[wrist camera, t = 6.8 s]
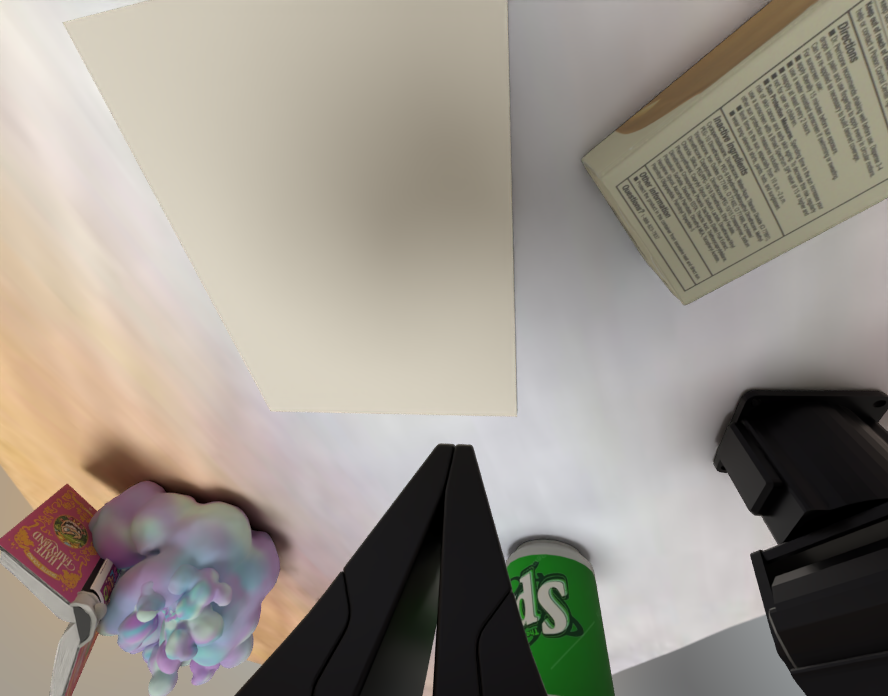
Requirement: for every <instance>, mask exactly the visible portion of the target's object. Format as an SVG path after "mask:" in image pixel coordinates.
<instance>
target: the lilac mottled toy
mask: <svg viewBox="0 0 888 696" xmlns="http://www.w3.org/2000/svg"><path fill="white" fill-rule="evenodd" d="M0 550H1V551H2V552H1V558H0V563H1V564H2V565H3V566H4V567H5V568H6V569H8V570H9V571H10V572H11V573H12V574H13V575H14V576H16V577H17V578H18V579H19V580H20V581H21V582H22V583H23V584H24V585H25V586H26V587H27V588H28V589H29V590H30V591H31V592H32V593H33V594H34V595H35V596H36V597H37V598H38V599H39V600H40V601H41V602H42V603H43V604H44V605H45V606H47V607H48V608H49V609H50V610H51V611H52V612H53V613H54V614H55V615H56V616H57V617H58V618H59V619H61V620H64V621H67V622H70V624H69V625H68V627H67V629H66V630H65V632H64V634H63V636H62V638H61V639H60V642H59V645H58V648H57V652H56V657H55V663H54V668H53V674H52V682H51V688H50V695H49V696H72V693H73V691H74V689H75V686H76V684H77V682H78V679H79V677H80V675H81V673H82V670H83V668H84V666H85V663H86V661H87V659H88V657H89V654H90V652H91V650H92V647H93V645H94V643H95V640H96V638H97V636H98V634H101V635H104V636H113V635H117V634H118V642H117V643H118V645H119V646H120V647H121V648H122V649H123V650H124V651H125V652H129V653H130V654H136V653H138V652H141V651H143V652H142V656H143V659H144V661H145V662H146V663H148V668H149V670H150V672H151V673H152V679H151V680H150V683H149V694H150V696H166V695H167V694H169V693H170V691H172V690H173V688H174V687H175V685H176V683H177V679H178V673H177V672H178V669H179V667H180V666H187V665H189V664H190V669H191V671H192V672H193V678H192V684H193V685H201V684H203V683H206V682H208V681H209V680H210V679H211V677H212V676H213V675H214V673H215V671H216V670H217V669H218V668H219V666H220V664H221V665H222V666H223V667H225V668H232V667H235V666H237V665H239V664H241V663H242V662H244V661H245V660H246V659H247V658H248V657H249V656H250V654H251V651H252V648H253V634H252V633H253V632H254V630H255V629H256V627H257V625H258V622H259V618H260V613H261V603H262V601H263V599H264V598H265V596H266V595H267V594H268V593H269V591H270V590H271V589H272V588H273V587H274V585H275V583H276V581H277V578H278V575H279V571H280V562H279V557H278V554H277V551H276V548H275V545H274V543H273V541H272V539H271V537H270V536H269V535H268V534H267V533H266V532H262V531H254V530H251V527H250V523H249V520H248V518H247V516H246V515H245V513H244V512H243V511H242V510H241V509H240V508H239V507H237V506H234V505H231V504H228V503H224V502H221V501H215V502H210V503H206V504H200V503H197V502H196V501H195V499H194V498H193V497H191V496H188V495H182V494H178V493H166V492H165V490H164V489H163V488H162V487H161V486H159V485H158V484H156V483H154V482H151V481H143V482H140V483H138V484H135V485H134V486H132V487H130V488H128V489H127V490H125V491H124V492H123V493H122V494H120V495H119V496H117V497H115V498H113V499H112V500H111V501H110V502H108V503H106V504H105V505H104V506H103V507H102V508H101V509H99V510H98V511H96V510H95V509H94V508H93V507H92V506H91V505H90V504H89V503H88V502H87V501H86V500H85V499H83V498H82V497H81V496H80V495H79V494H78V493H77V492H76V491H75V490H74V489H73V488H72V487H71V486H70V485H68V484H66V485H65V486H64V487H62V488H61V489H60V490H59V491H57V492H56V493H55V494H54V495H53V496H51V497H50V498H49V499H48V500H46V501H45V502H44V503H43V504H42V505H40V506H39V507H38V508H37V509H36V510H34V511H33V512H32V513H31V514H29V515H28V516H27V517H26V518H25V519H23V520H22V521H21V522H20V523H18V524H17V525H16V526H15V527H14V528H12V529H11V530H10V531H9V532H8V533H6V534H5V535H4V536H3V537H1V538H0ZM109 601H110V602H109Z"/></svg>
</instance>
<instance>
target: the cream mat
mask: <svg viewBox="0 0 888 696" xmlns="http://www.w3.org/2000/svg"><path fill="white" fill-rule="evenodd" d="M63 24H64V26H65V28H66V30H67V32H68V34H69V35H70V37H71V39H72V41H73V43H74V45H75V47H76V49H77V50H78V52H79V54H80V56H81V58H82V60H83V62H84V63H85V65H86V67H87V69H88V71H89V73H90V75H91V77H92V78H93V80H94V82H95V84H96V86H97V88H98V90H99V92H100V93H101V95H102V97H103V99H104V101H105V103H106V105H107V106H108V108H109V110H110V112H111V114H112V116H113V118H114V120H115V121H116V123H117V125H118V127H119V129H120V131H121V133H122V134H123V136H124V138H125V140H126V142H127V144H128V146H129V148H130V149H131V151H132V153H133V155H134V157H135V159H136V161H137V163H138V164H139V166H140V168H141V170H142V172H143V174H144V176H145V177H146V179H147V181H148V183H149V185H150V187H151V189H152V191H153V192H154V194H155V196H156V198H157V200H158V202H159V204H160V206H161V207H162V209H163V211H164V213H165V215H166V217H167V219H168V220H169V222H170V224H171V226H172V228H173V230H174V232H175V234H176V235H177V237H178V239H179V241H180V243H181V245H182V247H183V248H184V250H185V252H186V254H187V256H188V258H189V260H190V262H191V263H192V265H193V267H194V269H195V271H196V273H197V275H198V277H199V278H200V280H201V282H202V284H203V286H204V288H205V290H206V291H207V293H208V295H209V297H210V299H211V301H212V303H213V305H214V306H215V308H216V310H217V312H218V314H219V316H220V318H221V320H222V321H223V323H224V325H225V327H226V329H227V331H228V333H229V334H230V336H231V338H232V340H233V342H234V344H235V346H236V348H237V349H238V351H239V353H240V355H241V357H242V359H243V361H244V362H245V364H246V366H247V368H248V370H249V372H250V374H251V376H252V377H253V379H254V381H255V383H256V385H257V387H258V389H259V391H260V392H261V394H262V396H263V398H264V400H265V402H266V404H267V405H268V407H269V409H270V411H276V412H324V413H371V414H419V415H466V416H513V417H517V400H516V357H515V313H514V269H513V225H512V182H511V138H510V94H509V50H508V7H507V0H149V1H145V2H141V3H137V4H133V5H129V6H125V7H121V8H117V9H114V10H110V11H106V12H102V13H98V14H94V15H90V16H86V17H82V18H78V19H74V20H70V21H67V22H63Z"/></svg>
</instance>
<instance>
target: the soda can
mask: <svg viewBox="0 0 888 696" xmlns="http://www.w3.org/2000/svg"><path fill="white" fill-rule="evenodd" d="M506 567H507V571H508V574H509V578H510V581H511V585H512V590H513V593H514V595H515V599H516V602H517V606H518V610H519V613H520V617H521V620H522V623H523V626H524V630H525V633H526V636H527V639H528V643H529V646H530V649H531V652H532V654H533V657H534V660H535V663H536V665H537V668H538V671H539V673H540V676H541V679H542V681H543V684H544V687H545V689H546V692H547V694H548V696H615V694H614V688H613V682H612V676H611V670H610V664H609V658H608V652H607V646H606V640H605V634H604V628H603V622H602V616H601V610H600V604H599V598H598V592H597V586H596V580H595V574H594V570H593V568H592V565H591V563H590V562H589V561H587V560H586V559H585V558H584V557H583V556H582V555H581V554H580V552H578V551H577V550H576V549H575V548H574V547H572V546H570V545H568V544H566V543H562V542H559V541H554V540H533V541H529V542H525V543H524V544H522V545H520V546H519V547H518V548H517V550H516V551H515V552H514V553H512V554H511V555H510V557H509V558H508V560H507V562H506Z"/></svg>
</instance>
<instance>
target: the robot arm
mask: <svg viewBox="0 0 888 696" xmlns="http://www.w3.org/2000/svg"><path fill="white" fill-rule="evenodd" d="M754 399H755V400H754ZM752 400H753V401H752ZM887 410H888V395H887V394H885V393H884V392H880V391H758V390H755V391H750V392H747V393H745V394H744V395H743V396H742V398H741V400H740V402H739V405H738V407H737V409H736V412H735V414H734V416H733V419H732V421H731V423H730V425H729V426H728V428H727V430H726V432H725V435H724V437H723V439H722V441H721V444H720V446H719V448H718V451H717V456H716V458H715V460H714V466H715V468H716V469H717V471H719V472H722V473H728V474H729V476H730V478H731V480H732V481H733V483H734V485H735V487H736V488H737V490H738V492H739V494H740V496H741V497H742V499H743V501H744V503H745V504H746V506H747V508H748V510H749V511H750V512H751V513H752V514H753V515H755V516H761V517H762V518H763V520H764V522H765V523H766V525H767V527H768V529H769V530H770V532H771V534H772V535H773V537H774V539H775V541H776V542H777V544H778V545H777V546H774V547H772V548H769V549H767V550H764V551H763V550H758V551H756V552H753V553H751V554H750V556H751V560H752V564H753V567H754V571H755V575H756V579H757V582H758V586H759V590H760V593H761V597H762V601H763V605H764V608H765V612H766V616H767V619H768V623H769V627H770V630H771V634H772V636H773V639H774V642H775V646H776V650H777V653H778V654H779V656H780V658H781V659H782V660H783V661H784V663H785V664H786V666H787V667H788V669H789V671H790V673H791V675H792V677H793V679H794V680H795V681H796V683H797V684H798V685H799V687H800V688H801V689H802V690H803V692H804V693H805V694H806V695H807V696H888V432H887V431H886V430H885V429H884V428H883V427H882V426H881V425H880V424H879V423H878V422H879V420H880V419H881V418H882V416H883V415H884V414H885V412H886V411H887ZM343 570H344V572H343V571H342V572H340V573H339V574H338V576H337V577H336V578H335V580H334V581H333V582H332V584H331V585H330V586H329V588H328V589H327V590H326V592H325V593H324V594H323V595H322V597H321V598H320V599H319V600H318V602H317V603H316V604H315V605H314V607H313V608H312V609H311V610H310V612H309V613H308V614H307V615H306V616H305V618H304V619H303V620H302V621H301V622H300V623H299V624H298V626H297V627H296V628H295V629H294V630H293V631H292V632H291V634H290V635H289V636H288V637H287V638H286V639H285V640H284V642H283V643H282V644H281V645H280V646H279V647H278V648H277V649H276V650H275V651H274V653H273V654H272V655H271V656H270V657H269V658H268V659H267V660H266V661H265V662H264V664H263V665H262V666H261V667H260V668H259V669H258V670H257V671H256V672H255V674H254V675H253V676H252V677H251V678H250V679H249V680H248V681H247V682H246V683H245V684H244V686H243V687H242V688H241V689H240V690H239V691H238V692H237V693H236V695H235V696H422V695H423V690H424V685H425V680H426V675H427V670H428V665H429V660H430V655H431V650H432V645H433V640H434V635H435V630H436V625H437V630H436V647H435V664H434V681H433V696H548V694H547V692H546V689H545V687H544V684H543V681H542V679H541V676H540V673H539V671H538V668H537V665H536V663H535V660H534V657H533V654H532V652H531V649H530V646H529V643H528V639H527V636H526V633H525V630H524V626H523V623H522V620H521V617H520V613H519V610H518V606H517V602H516V599H515V595H514V593H513V590H512V585H511V581H510V578H509V574H508V571H507V567H506V563H505V560H504V556H503V553H502V549H501V545H500V542H499V538H498V535H497V531H496V527H495V524H494V520H493V517H492V513H491V509H490V506H489V502H488V499H487V495H486V491H485V488H484V484H483V481H482V477H481V473H480V470H479V466H478V462H477V459H476V455H475V452H474V448H473V446H472V445H465V444H457V445H456V446H455V445H454V444H438V445H437V446H436V447H435V448H434V450H433V451H432V452H431V454H430V455H429V456H428V458H427V459H426V460H425V462H424V463H423V464H422V466H421V467H420V468H419V470H418V471H417V472H416V473H415V475H414V476H413V477H412V479H411V480H410V481H409V483H408V484H407V485H406V487H405V488H404V489H403V491H402V492H401V493H400V495H399V496H398V497H397V498H396V500H395V501H394V502H393V504H392V505H391V506H390V508H389V509H388V510H387V512H386V513H385V514H384V516H383V517H382V518H381V520H380V521H379V522H378V523H377V525H376V526H375V527H374V529H373V530H372V531H371V533H370V534H369V535H368V537H367V538H366V539H365V541H364V542H363V543H362V545H361V546H360V547H359V548H358V550H357V551H356V552H355V554H354V555H353V556H352V558H351V559H350V560H349V562H348V563H347V564H346V566H345V567H344V569H343Z"/></svg>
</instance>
